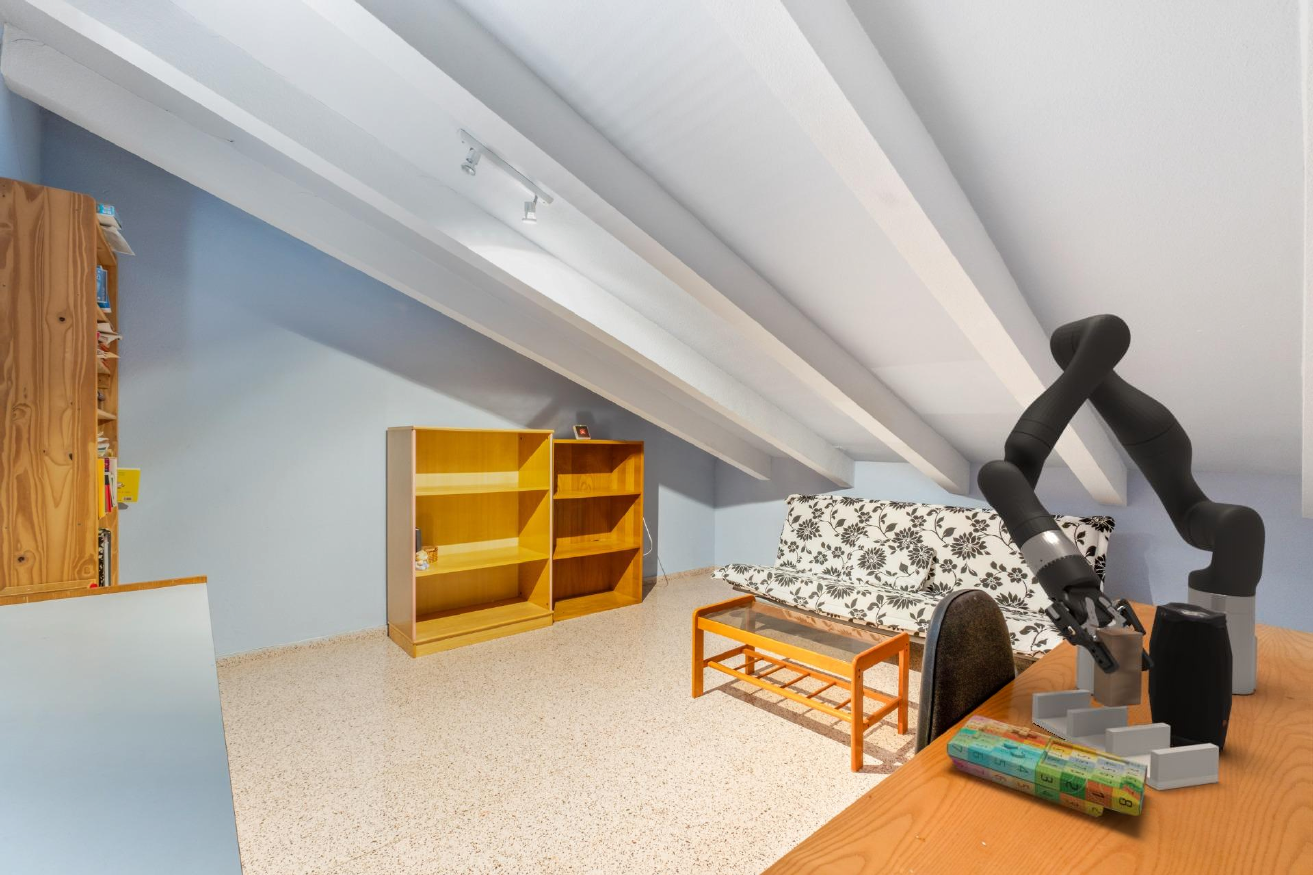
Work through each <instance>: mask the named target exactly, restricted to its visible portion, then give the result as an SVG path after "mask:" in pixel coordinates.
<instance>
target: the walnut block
mask: <svg viewBox="0 0 1313 875" xmlns="http://www.w3.org/2000/svg"><path fill="white" fill-rule="evenodd" d="M1133 630H1134V629H1132V630H1130V629H1127V628H1119V629H1099V630H1096V631H1097V633H1098V634H1099V636H1100V638H1101V641H1100V643H1101V642H1103V643H1104V644H1105V646H1106V647H1107V649H1108V650H1109V652H1110V653H1111V654H1112V655H1113V657H1114V658H1115V660H1116V661H1117V663H1118V664H1119V669H1118V670H1117V671H1115V672H1113V673H1112V674H1106V673H1104V671H1103V670H1102V669H1101V668H1100V667H1099V666H1098V664H1097V663H1096V661H1095V659H1094V690H1093V694H1092V696H1093V698H1092V699H1093V701H1095V702H1097V703H1099V704H1102V705H1103V706H1108V707H1120V706H1125V707H1131V706H1140V705H1141V704H1142V683H1143V681H1142V679H1143V677H1142V676H1143V675H1142V674H1143V671H1142V652H1143V648H1144V647H1143V646H1144V636H1143V633H1140V632H1137V631H1133Z"/></svg>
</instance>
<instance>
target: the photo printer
mask: <svg viewBox="0 0 1313 875" xmlns="http://www.w3.org/2000/svg"><path fill="white" fill-rule="evenodd" d="M1115 623H1116V622H1115V620H1114V619H1113V621H1112V622H1111V623H1110V624H1108V626H1113V625H1114V624H1115ZM1098 630H1099V628H1098ZM1075 674H1076V677H1075V678H1076V679H1075V686H1076V688H1077V689H1078V690H1080V689H1086V690H1088V691H1091V695H1093V690H1094V658H1093V657H1092V655H1091V654H1090V652H1089V651H1088V650H1087V649H1084V648H1083V647H1082V646H1081V645H1076V673H1075Z"/></svg>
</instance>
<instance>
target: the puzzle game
mask: <svg viewBox="0 0 1313 875" xmlns="http://www.w3.org/2000/svg"><path fill="white" fill-rule="evenodd" d="M946 754H947V755H948V757H949V759H951V761H952V763H953V764H954V766H955V767H956V769H957V770H958V771H961V772H964V773H967V774H971V775H972V776H976V777H979V778H982V779H984V780H987V781H990V782H993V783H996V784H999V785H1001V786H1005V787H1008V788H1011V789H1013V790H1016V791H1018V792H1019V791H1020V792H1023V793H1025V794H1028V795H1030V796H1034V797H1036V798H1037V797H1038V798H1041V799H1043V800H1046V801H1049V802H1051V803H1055V804H1057V805H1060V806H1064V807H1066V808H1069V809H1072V810H1074V809H1075V811H1077V810H1078V812H1080V813H1084V814H1087V815H1090V816H1092V817H1095V818H1098V817H1100V816H1102V815H1103V813H1104V810H1105V809H1109V810H1113V811H1116V812H1119V813H1121V814H1122V813H1123V814H1126V815H1128V816H1131V817H1133V816H1134V817H1135V816H1141V811H1142V807H1143V801H1144V795H1145V789H1146V785H1147V784H1146V779H1147V768H1148V765H1146V764H1143V763H1139V762H1136V761H1133V760H1129V759H1126V758H1122V757H1119V756H1116V755H1112V754H1109V753H1105V752H1102V751H1098V750H1095V749H1092V748H1088V747H1085V746H1081V745H1078V744H1075V743H1071V742H1068V741H1065V740H1063V739H1061V738H1059V737H1054V736H1051V735H1046V734H1044V733H1040V732H1036V731H1032V729H1031V728H1029V727H1026V726H1022V727H1019V726H1015V725H1013V724H1009V723H1006V722H1003V721H998V720H996V719H992V718H989V717H985V716H982V715H979V714H977V715H971V716H970V718H968V720H966V722H965V723H964V724H962V726H961V727H960V729H959V730H958V731H957V732H956V733H955V734H954V735H953V736H952V738H951V739H950V740H949V741H948V742H947V743H946Z"/></svg>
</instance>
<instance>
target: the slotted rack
mask: <svg viewBox="0 0 1313 875" xmlns="http://www.w3.org/2000/svg"><path fill="white" fill-rule="evenodd" d="M1091 696H1092V694H1091V691H1088V690H1086V689H1080V690H1079V689H1071V690H1059V691H1058V690H1057V691H1049V692H1048V691H1047V692H1037V693H1036V692H1035V693H1032V707H1031V708H1032V709H1031V710H1032V711H1031V712H1032V716H1031V718H1032V719H1031V723H1032V724H1033V723H1035V724H1036V725H1035V724H1034V725H1035V726H1037V725H1039V726H1040V727H1039V726H1038V727H1039V728H1041V727H1043V728H1044V729H1043V728H1042V729H1043V730H1045V729H1046V730H1047V731H1046V730H1045V731H1046V732H1048V731H1049V733H1050V732H1052V733H1053V734H1052V733H1051V734H1052V735H1054V734H1055V735H1054V736H1056V735H1057V736H1056V737H1058V736H1060V737H1061V738H1063V739H1065V740H1067V741H1069V742H1072V743H1075V744H1078V745H1081V746H1085V747H1088V748H1092V749H1095V750H1098V751H1102V752H1105V753H1109V754H1112V755H1116V756H1119V757H1122V758H1126V759H1129V760H1133V761H1136V762H1139V763H1143V764H1146V765H1148V768H1147V779H1146V784H1145V785H1147V786H1149V787H1150V788H1153V789H1155V790H1156V791H1165V790H1172V789H1179V788H1184V787H1192V786H1193V787H1194V786H1199V785H1206V784H1212V783H1213V784H1214V783H1219V760H1220V759H1219V757H1220V755H1219V754H1220V752H1219V751H1220V750H1219V747H1218V746H1216V745H1213V744H1211V743H1208V744H1200V745H1192V746H1183V747H1175V748H1174V747H1171V744H1170V726H1169V725H1167V724H1165V723H1156V724H1152V723H1150V724H1149V723H1147V724H1141V725H1140V724H1137V725H1131V726H1130V725H1129V722H1128V721H1129V708H1128V707H1129V706H1120V707H1108V706H1106V705H1103V706H1097V707H1096V706H1095V707H1091ZM1128 725H1129V726H1128ZM1061 738H1060V739H1061ZM1063 739H1062V740H1063ZM1065 740H1064V741H1065Z"/></svg>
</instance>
